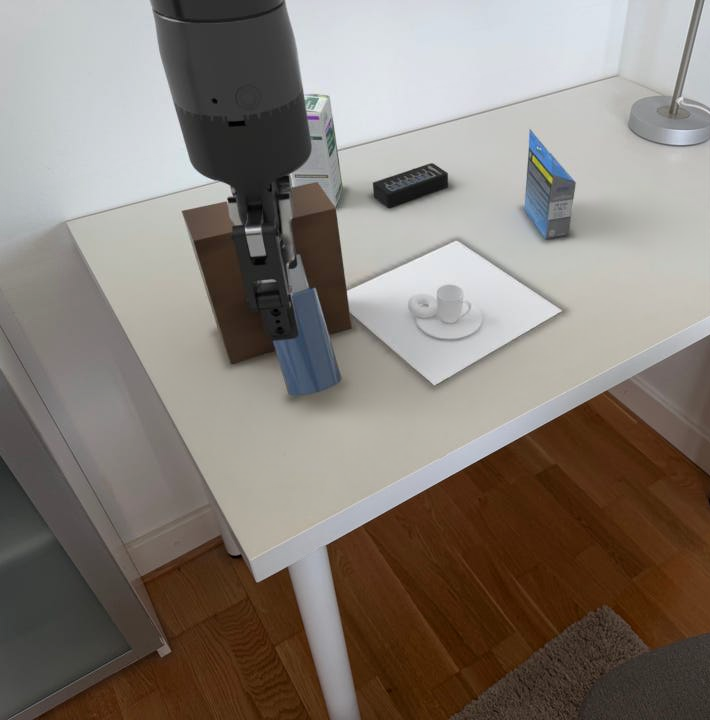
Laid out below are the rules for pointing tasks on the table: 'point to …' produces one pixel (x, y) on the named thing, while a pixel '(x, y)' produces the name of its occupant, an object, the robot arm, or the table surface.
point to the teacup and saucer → (447, 310)
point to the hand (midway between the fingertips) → (283, 300)
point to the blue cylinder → (307, 342)
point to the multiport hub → (410, 185)
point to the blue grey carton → (548, 191)
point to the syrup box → (321, 149)
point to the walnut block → (227, 289)
